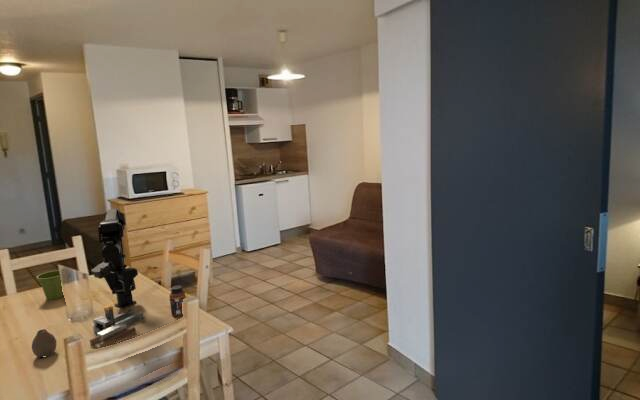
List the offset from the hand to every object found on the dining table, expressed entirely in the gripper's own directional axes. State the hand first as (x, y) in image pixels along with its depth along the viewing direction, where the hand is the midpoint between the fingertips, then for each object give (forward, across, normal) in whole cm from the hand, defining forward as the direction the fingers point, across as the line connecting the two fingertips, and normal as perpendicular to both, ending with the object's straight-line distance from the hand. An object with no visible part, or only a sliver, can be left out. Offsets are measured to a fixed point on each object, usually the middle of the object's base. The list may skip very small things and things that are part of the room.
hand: (119, 291), depth 160 cm
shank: (+11, +11, -11) cm, 19 cm away
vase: (+12, -1, -28) cm, 31 cm away
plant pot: (+12, -54, +1) cm, 55 cm away
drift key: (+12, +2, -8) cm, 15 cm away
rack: (+12, +11, -11) cm, 20 cm away
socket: (+12, +2, -3) cm, 13 cm away
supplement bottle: (+12, +16, +14) cm, 25 cm away
